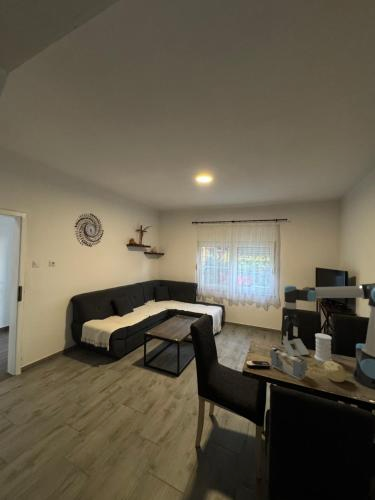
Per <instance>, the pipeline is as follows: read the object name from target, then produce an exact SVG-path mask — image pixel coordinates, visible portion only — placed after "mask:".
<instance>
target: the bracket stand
mask: <svg viewBox="0 0 375 500" xmlns="http://www.w3.org/2000/svg"><path fill="white" fill-rule="evenodd" d="M278 350H279V351H281V352H283V353H284V350H282V349H281V348H278V347H276V348H273V349H271V350H269V358H270V363H269V366H271V367H273V368H274V369H277V370H279V371H281V372H283V373H284V374H287V375H289V376H290V377H292V378H295V379H297V380H298V381H302V380H303V379H305V378H307V377H308V373H306V369H308V360H307V359H306V358H303V357H300V356H298V359H300V360H302V362H298V361H295V360H293V366H291V365H289V364H287V363H284V362H282V361H280V360H278V359H277V352H276V351H278Z"/></svg>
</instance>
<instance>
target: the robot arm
mask: <svg viewBox="0 0 375 500" xmlns="http://www.w3.org/2000/svg"><path fill="white" fill-rule="evenodd" d="M283 297H284V313H285V314H286V315H283V320H282V325H281V329H280V330H281V331H282V332H283V337H282V340H285V341H289V336H288V334H289V332H288V329H289V326H290V324H291V323H292V324H293V328H292V329H293V330H292V333H293V334H292V335H293V336H294V337H298V334H299V333H298V331H299V330H298V328H300V323H299V321H300V320H299V319H298V313H297V301H302V302H308V303H309V302H310V303H311V302H312V303H313V302H317V299H327V298H328V299H333V298H334V299H335V298H336V299H345V298H346V299H347V298H350V299H353V298H355V299H356V298H357V299H358V298H359V299H360V298H361V299H362V300H368V304H367V305H368V306H369V307H370V312H369V313H370V314H369V318H368V325H367V332H366V336H365V337H366V339H365V343H356V344H355V368H354V370H353V372H352V379H353V380H354V381H355V382H356V383H358V384H360V385H363V386H364V387H367V388H370V389H375V282H374V283H362V284H359V285H352V286H351V285H349V286H348V285H347V286H346V285H345V286H315V287H311V286H310V287H309V286H304V287H303V288H302V289H298V288H297V287H296V286H295V285H285V286H284V296H283Z"/></svg>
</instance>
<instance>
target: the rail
mask: <svg viewBox="0 0 375 500" xmlns="http://www.w3.org/2000/svg"><path fill="white" fill-rule="evenodd" d="M276 352H277V359H278V360H280V361H282V362H283V363H284V364H286V365H288V366H291V367H293V360H295V361H298V362H302V360H300V359H299V357H298V358H297V356H296V357H295V356H291V355H289V354H288V353H286V352H284V351H283V352H281V351H279V350H278V351H276Z"/></svg>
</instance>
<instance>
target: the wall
mask: <svg viewBox="0 0 375 500" xmlns="http://www.w3.org/2000/svg"><path fill="white" fill-rule="evenodd" d="M281 342H282V343H283V345H284V347H285V350H286V352H287V354H288V355H291V356H293V357H295V356H296V357H300V356H304V355H310V352H309V351H308V349H307V347H306V346H305V345H304V343H303V341H302V339H301V338H293V339H291V340H289V339H288V341H285V340H283V339H282V340H281Z"/></svg>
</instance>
